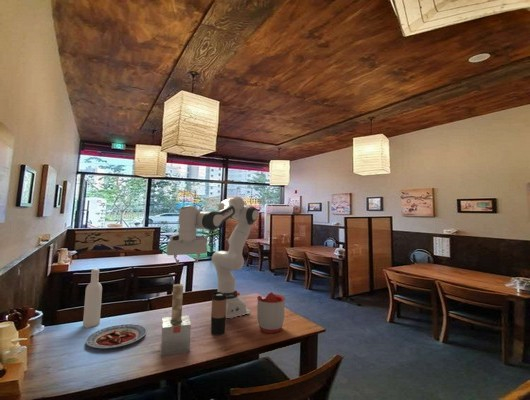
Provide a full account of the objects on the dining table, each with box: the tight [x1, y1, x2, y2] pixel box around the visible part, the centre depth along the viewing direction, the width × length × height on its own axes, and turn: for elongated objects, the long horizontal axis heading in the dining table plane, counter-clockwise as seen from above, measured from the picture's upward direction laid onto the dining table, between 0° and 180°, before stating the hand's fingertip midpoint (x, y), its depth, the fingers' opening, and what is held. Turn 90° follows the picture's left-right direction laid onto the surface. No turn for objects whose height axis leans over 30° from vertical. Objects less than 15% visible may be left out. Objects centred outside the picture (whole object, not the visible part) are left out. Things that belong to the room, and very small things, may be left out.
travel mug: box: [210, 291, 227, 336], centre depth 138 cm, size 8×8×20 cm
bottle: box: [82, 268, 103, 329], centre depth 144 cm, size 8×8×30 cm
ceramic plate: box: [85, 323, 147, 349], centre depth 128 cm, size 26×26×3 cm
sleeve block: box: [160, 314, 192, 357], centre depth 121 cm, size 12×13×12 cm
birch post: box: [170, 283, 184, 324], centre depth 122 cm, size 4×4×20 cm
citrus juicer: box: [256, 291, 286, 334], centre depth 145 cm, size 16×17×20 cm
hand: (187, 263), depth 135 cm, fingers open, 8 cm apart
